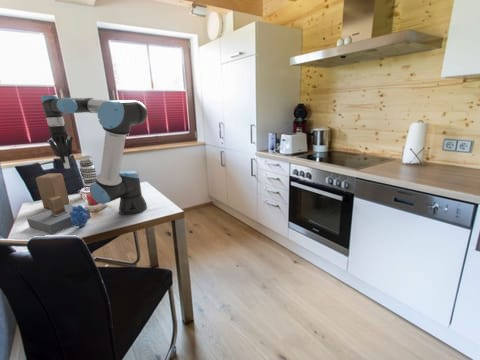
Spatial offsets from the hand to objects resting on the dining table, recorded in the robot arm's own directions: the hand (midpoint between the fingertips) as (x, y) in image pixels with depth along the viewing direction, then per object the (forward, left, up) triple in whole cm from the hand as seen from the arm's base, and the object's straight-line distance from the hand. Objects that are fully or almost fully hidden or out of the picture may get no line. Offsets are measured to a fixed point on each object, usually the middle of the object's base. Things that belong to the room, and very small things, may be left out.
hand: (67, 168), depth 142 cm
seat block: (-6, +13, -26) cm, 30 cm away
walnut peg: (-6, +13, -26) cm, 30 cm away
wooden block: (+22, -1, -26) cm, 34 cm away
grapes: (-23, +12, -26) cm, 37 cm away
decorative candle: (+20, -24, -26) cm, 40 cm away
